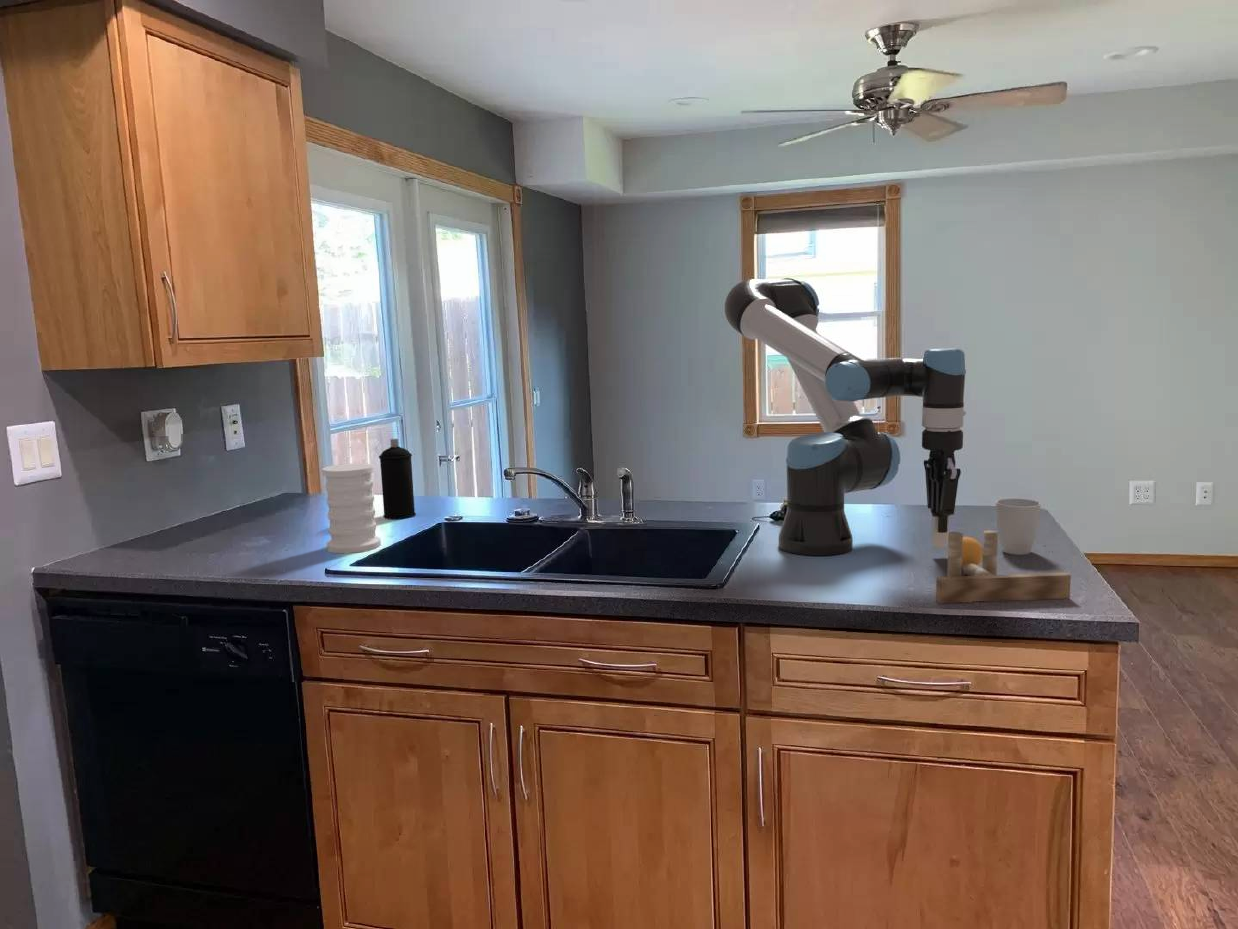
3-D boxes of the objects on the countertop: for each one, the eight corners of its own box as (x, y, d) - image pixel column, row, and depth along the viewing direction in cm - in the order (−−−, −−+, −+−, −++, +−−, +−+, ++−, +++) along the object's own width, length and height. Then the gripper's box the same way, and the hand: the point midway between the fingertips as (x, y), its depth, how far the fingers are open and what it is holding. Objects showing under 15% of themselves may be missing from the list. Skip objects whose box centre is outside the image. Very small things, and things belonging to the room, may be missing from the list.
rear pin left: (985, 580, 164) (987, 533, 163) (979, 576, 167) (981, 530, 165) (998, 579, 164) (1000, 533, 163) (992, 575, 167) (994, 530, 165)
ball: (953, 527, 172) (938, 551, 175) (965, 548, 167) (949, 572, 170) (981, 533, 173) (966, 556, 176) (994, 554, 168) (978, 577, 171)
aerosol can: (411, 519, 231) (406, 440, 227) (379, 520, 231) (373, 441, 228) (419, 512, 239) (414, 436, 236) (387, 513, 239) (382, 437, 236)
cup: (1044, 550, 183) (1046, 501, 182) (1030, 558, 177) (1032, 508, 176) (1003, 544, 189) (1005, 497, 187) (988, 552, 183) (989, 503, 181)
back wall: (939, 603, 152) (940, 580, 151) (935, 600, 154) (936, 577, 153) (1069, 598, 153) (1070, 575, 152) (1064, 595, 154) (1065, 572, 154)
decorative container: (369, 538, 211) (364, 461, 209) (388, 547, 202) (383, 467, 199) (319, 546, 205) (313, 467, 202) (337, 556, 195) (330, 473, 193)
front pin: (960, 571, 168) (983, 584, 160) (967, 560, 168) (990, 572, 159) (970, 577, 168) (994, 590, 160) (977, 565, 168) (1001, 578, 160)
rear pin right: (950, 581, 164) (951, 535, 163) (945, 577, 167) (946, 532, 165) (963, 580, 164) (964, 534, 163) (958, 577, 167) (959, 531, 165)
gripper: (975, 432, 170) (971, 555, 174) (948, 424, 183) (945, 538, 187) (936, 433, 170) (933, 556, 174) (911, 425, 183) (909, 540, 187)
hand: (939, 547), depth 180 cm, fingers closed
